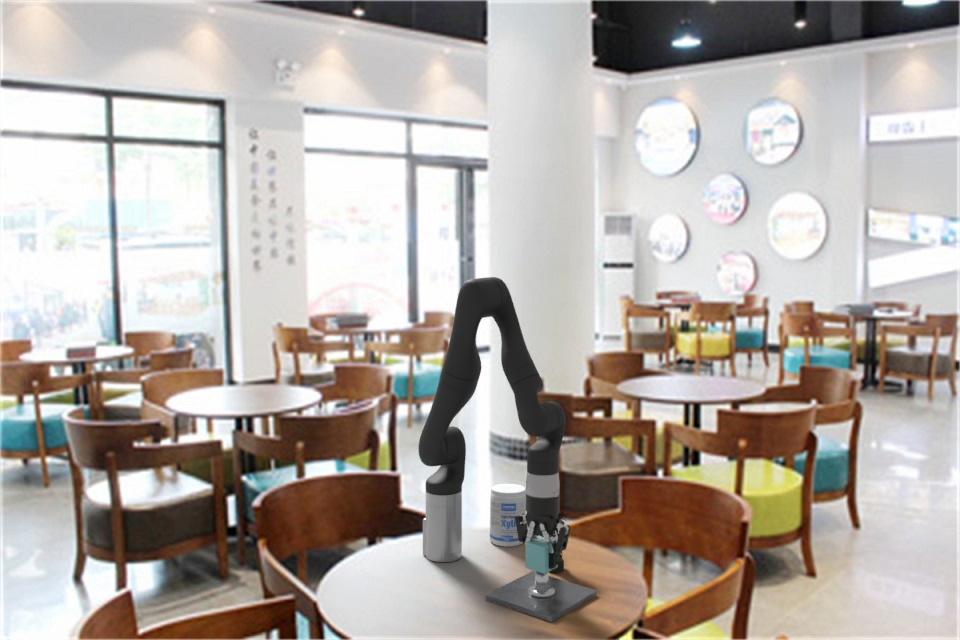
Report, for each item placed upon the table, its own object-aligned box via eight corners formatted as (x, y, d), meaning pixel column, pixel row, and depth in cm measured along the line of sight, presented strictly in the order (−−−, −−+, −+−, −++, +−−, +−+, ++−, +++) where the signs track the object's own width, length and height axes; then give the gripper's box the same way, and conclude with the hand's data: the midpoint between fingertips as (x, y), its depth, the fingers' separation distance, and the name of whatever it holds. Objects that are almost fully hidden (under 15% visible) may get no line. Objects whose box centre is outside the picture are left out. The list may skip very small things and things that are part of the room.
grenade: (565, 576, 209) (566, 515, 207) (540, 575, 209) (541, 514, 208) (565, 566, 215) (566, 507, 214) (541, 565, 216) (542, 506, 215)
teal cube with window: (525, 568, 195) (525, 540, 195) (538, 561, 199) (539, 534, 199) (544, 573, 192) (544, 545, 191) (557, 567, 196) (558, 539, 195)
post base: (485, 599, 195) (485, 572, 195) (532, 575, 209) (532, 550, 208) (551, 622, 184) (552, 593, 183) (596, 595, 198) (597, 568, 197)
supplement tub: (503, 550, 226) (504, 495, 225) (482, 540, 234) (482, 486, 232) (532, 543, 232) (533, 489, 230) (511, 533, 239) (511, 481, 238)
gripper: (506, 489, 196) (506, 562, 197) (559, 501, 187) (559, 577, 188) (526, 482, 201) (526, 553, 203) (578, 493, 192) (577, 567, 194)
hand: (541, 564), depth 196 cm, fingers closed on teal cube with window, 5 cm apart
